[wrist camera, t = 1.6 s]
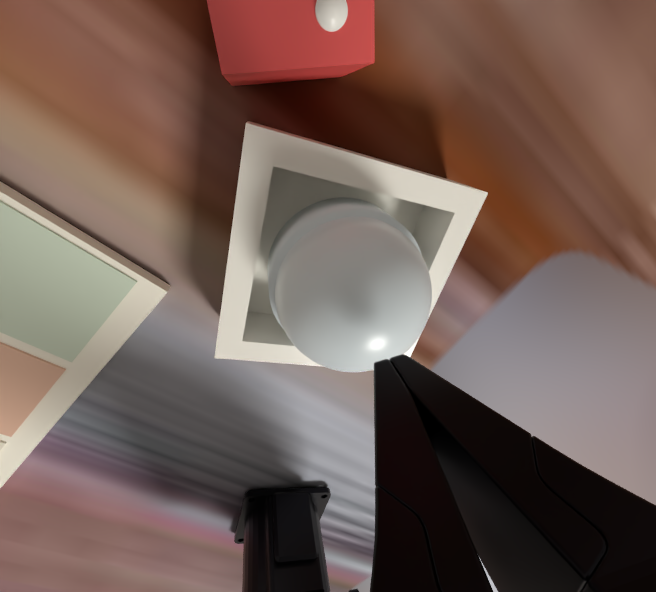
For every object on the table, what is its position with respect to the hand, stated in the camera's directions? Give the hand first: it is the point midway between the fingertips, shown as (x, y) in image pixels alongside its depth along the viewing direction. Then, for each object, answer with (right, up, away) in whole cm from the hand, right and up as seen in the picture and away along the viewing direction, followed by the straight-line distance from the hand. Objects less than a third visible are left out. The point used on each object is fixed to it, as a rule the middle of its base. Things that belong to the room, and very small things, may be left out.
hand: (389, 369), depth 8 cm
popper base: (-2, +4, +7) cm, 8 cm away
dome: (-1, +3, +6) cm, 7 cm away
